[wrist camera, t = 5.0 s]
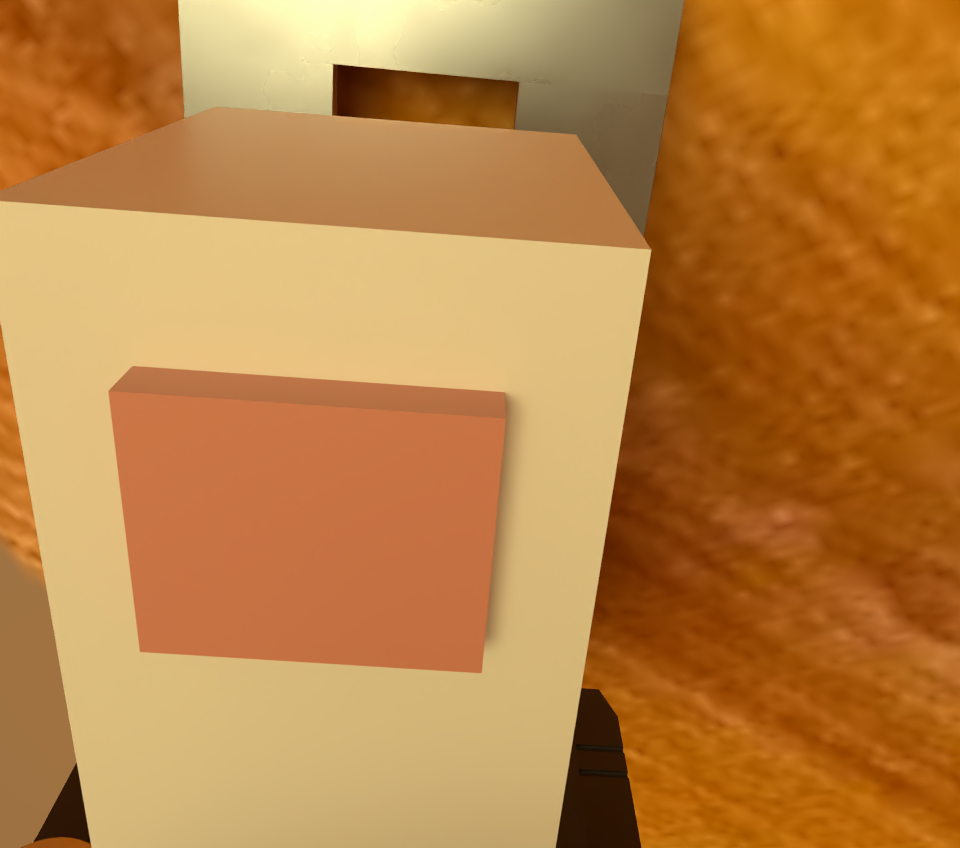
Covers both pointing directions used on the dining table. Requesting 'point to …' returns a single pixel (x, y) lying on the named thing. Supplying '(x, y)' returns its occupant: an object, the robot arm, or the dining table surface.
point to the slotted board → (454, 63)
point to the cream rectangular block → (321, 470)
